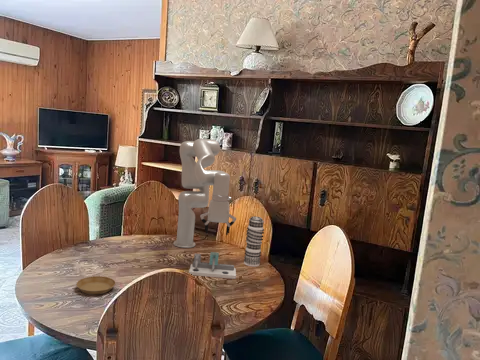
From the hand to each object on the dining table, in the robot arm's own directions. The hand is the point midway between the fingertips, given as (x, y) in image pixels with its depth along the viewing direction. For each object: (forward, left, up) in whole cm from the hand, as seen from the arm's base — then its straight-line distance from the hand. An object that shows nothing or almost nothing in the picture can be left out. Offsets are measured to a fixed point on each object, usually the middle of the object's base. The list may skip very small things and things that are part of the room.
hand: (216, 233), depth 185 cm
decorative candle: (-16, +20, -19) cm, 32 cm away
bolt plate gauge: (+2, 0, -19) cm, 19 cm away
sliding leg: (+1, 0, -17) cm, 17 cm away
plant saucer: (+30, -46, -19) cm, 58 cm away
